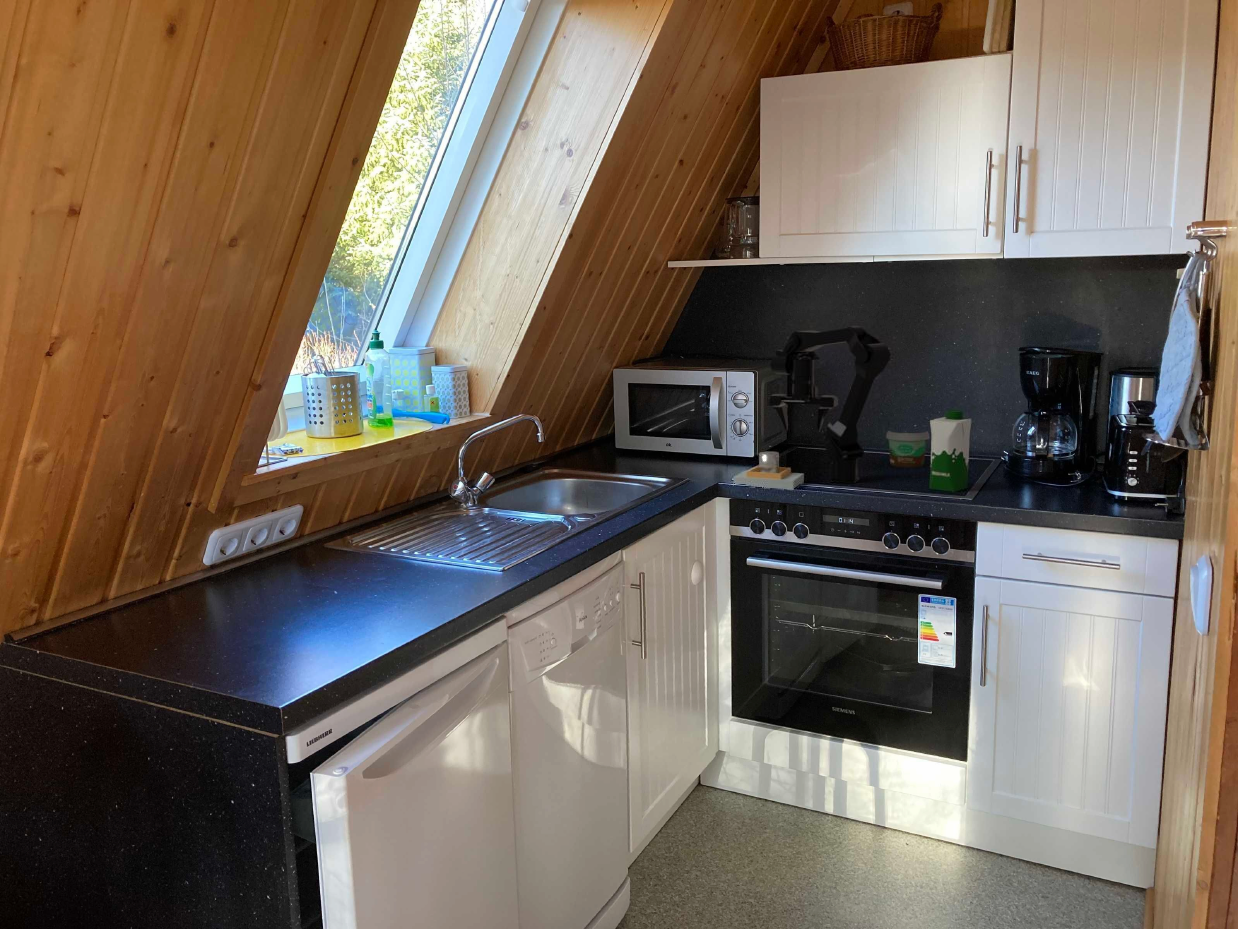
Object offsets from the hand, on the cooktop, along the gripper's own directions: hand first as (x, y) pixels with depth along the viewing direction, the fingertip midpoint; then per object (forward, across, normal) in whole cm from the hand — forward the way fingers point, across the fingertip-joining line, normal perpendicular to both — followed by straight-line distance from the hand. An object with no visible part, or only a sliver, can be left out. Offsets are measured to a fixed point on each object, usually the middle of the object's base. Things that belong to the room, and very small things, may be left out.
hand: (802, 431), depth 283 cm
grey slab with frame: (+12, +4, +19) cm, 23 cm away
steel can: (+10, +4, +19) cm, 22 cm away
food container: (+12, -26, -20) cm, 35 cm away
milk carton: (+12, -41, +9) cm, 44 cm away
